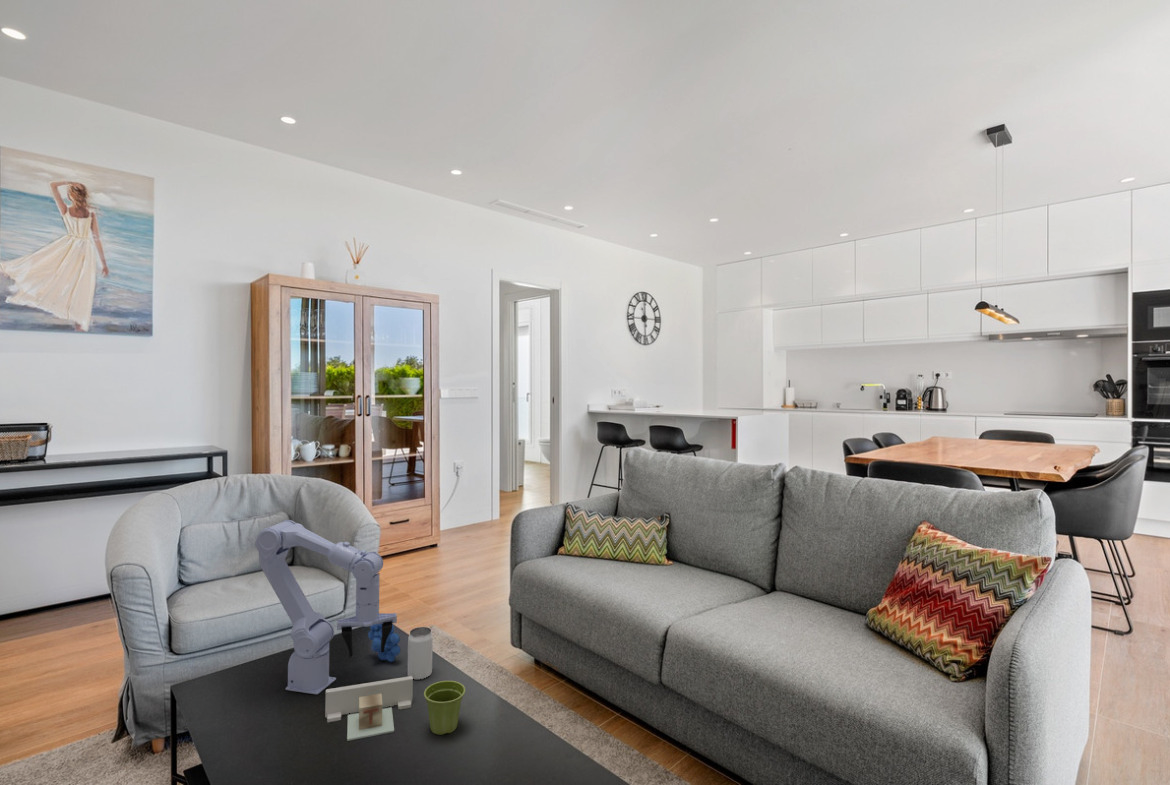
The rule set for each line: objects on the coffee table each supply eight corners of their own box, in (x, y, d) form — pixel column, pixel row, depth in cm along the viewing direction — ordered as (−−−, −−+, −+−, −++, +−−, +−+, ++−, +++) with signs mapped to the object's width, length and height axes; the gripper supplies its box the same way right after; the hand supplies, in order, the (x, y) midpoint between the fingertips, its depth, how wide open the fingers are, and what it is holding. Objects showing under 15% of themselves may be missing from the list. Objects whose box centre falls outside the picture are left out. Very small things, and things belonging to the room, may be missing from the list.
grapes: (357, 661, 167) (357, 620, 166) (375, 652, 173) (375, 611, 172) (387, 671, 162) (388, 628, 161) (405, 661, 168) (406, 619, 167)
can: (435, 669, 163) (436, 627, 163) (426, 681, 157) (427, 637, 157) (413, 667, 164) (413, 625, 164) (403, 679, 158) (404, 635, 157)
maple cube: (359, 730, 134) (359, 708, 134) (358, 717, 139) (359, 697, 139) (382, 726, 136) (382, 704, 136) (381, 714, 141) (381, 693, 140)
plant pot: (472, 720, 139) (472, 685, 139) (450, 743, 130) (451, 705, 130) (438, 712, 142) (438, 677, 142) (414, 734, 134) (415, 697, 133)
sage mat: (347, 740, 131) (347, 739, 131) (347, 716, 140) (347, 714, 140) (394, 732, 134) (394, 730, 134) (391, 708, 144) (391, 707, 144)
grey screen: (324, 722, 137) (325, 697, 137) (326, 709, 143) (326, 684, 143) (413, 707, 144) (413, 683, 144) (411, 694, 150) (411, 671, 150)
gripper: (336, 610, 146) (336, 664, 146) (397, 603, 151) (396, 655, 151) (337, 600, 152) (337, 651, 153) (396, 593, 158) (395, 643, 158)
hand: (366, 652), depth 152 cm, fingers open, 7 cm apart
